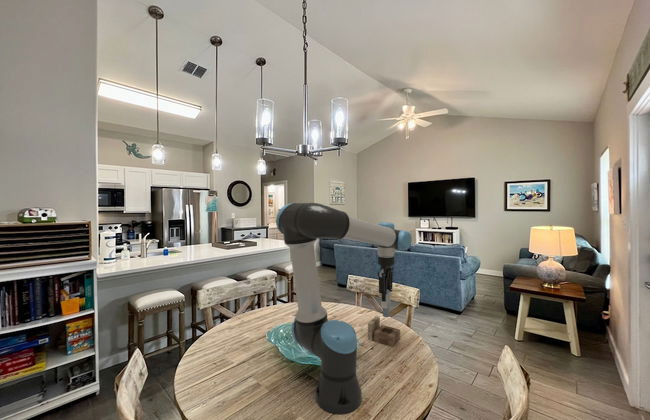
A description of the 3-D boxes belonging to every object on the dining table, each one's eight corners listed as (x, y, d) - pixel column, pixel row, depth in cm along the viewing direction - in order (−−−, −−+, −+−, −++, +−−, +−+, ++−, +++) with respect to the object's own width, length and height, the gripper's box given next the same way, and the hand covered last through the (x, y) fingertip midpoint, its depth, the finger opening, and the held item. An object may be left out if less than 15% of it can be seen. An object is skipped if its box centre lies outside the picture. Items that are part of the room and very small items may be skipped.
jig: (401, 352, 119) (401, 332, 119) (367, 341, 128) (367, 323, 128) (408, 343, 126) (408, 324, 126) (375, 334, 135) (375, 316, 135)
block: (393, 347, 121) (393, 337, 121) (374, 341, 126) (374, 331, 126) (400, 339, 128) (400, 329, 128) (381, 333, 134) (381, 324, 133)
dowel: (387, 317, 125) (387, 291, 125) (381, 316, 127) (381, 290, 127) (390, 315, 128) (390, 289, 128) (384, 314, 130) (384, 288, 129)
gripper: (387, 259, 118) (387, 314, 119) (399, 254, 132) (399, 303, 132) (371, 257, 123) (370, 310, 123) (385, 252, 136) (384, 300, 136)
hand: (385, 306), depth 128 cm, fingers closed on dowel, 3 cm apart
